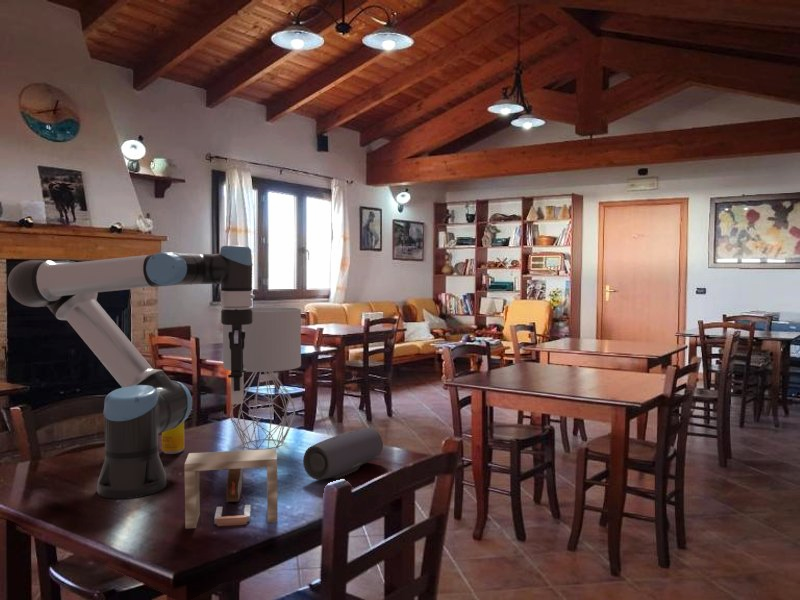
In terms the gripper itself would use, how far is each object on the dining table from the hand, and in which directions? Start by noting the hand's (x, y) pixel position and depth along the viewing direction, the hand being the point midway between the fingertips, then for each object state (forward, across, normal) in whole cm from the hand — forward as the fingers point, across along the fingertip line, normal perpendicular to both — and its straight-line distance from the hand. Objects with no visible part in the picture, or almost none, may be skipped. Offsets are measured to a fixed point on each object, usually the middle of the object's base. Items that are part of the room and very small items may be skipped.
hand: (237, 400), depth 166 cm
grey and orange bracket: (+19, -29, 0) cm, 35 cm away
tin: (+19, -15, 0) cm, 24 cm away
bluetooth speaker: (+19, -2, -26) cm, 33 cm away
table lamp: (+19, +30, -6) cm, 36 cm away
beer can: (+19, +27, +19) cm, 38 cm away
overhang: (+19, -29, 0) cm, 35 cm away
